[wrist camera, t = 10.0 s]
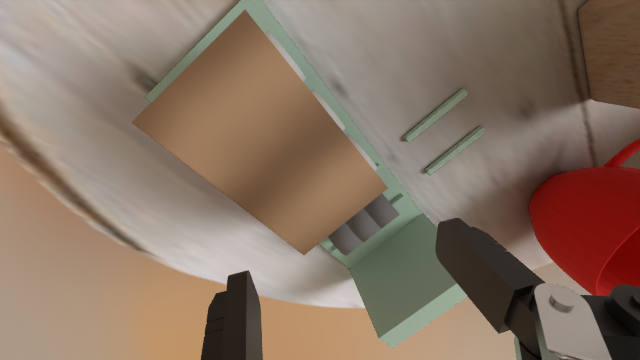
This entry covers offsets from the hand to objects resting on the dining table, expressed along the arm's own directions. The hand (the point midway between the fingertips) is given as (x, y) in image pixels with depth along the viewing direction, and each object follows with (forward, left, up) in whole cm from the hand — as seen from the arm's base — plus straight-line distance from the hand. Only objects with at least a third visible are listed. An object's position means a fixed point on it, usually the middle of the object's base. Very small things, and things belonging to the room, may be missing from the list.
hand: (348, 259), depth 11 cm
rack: (+8, +11, -14) cm, 19 cm away
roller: (+8, 0, -13) cm, 15 cm away
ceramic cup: (+25, +20, -14) cm, 35 cm away
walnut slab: (-3, 0, -9) cm, 9 cm away
